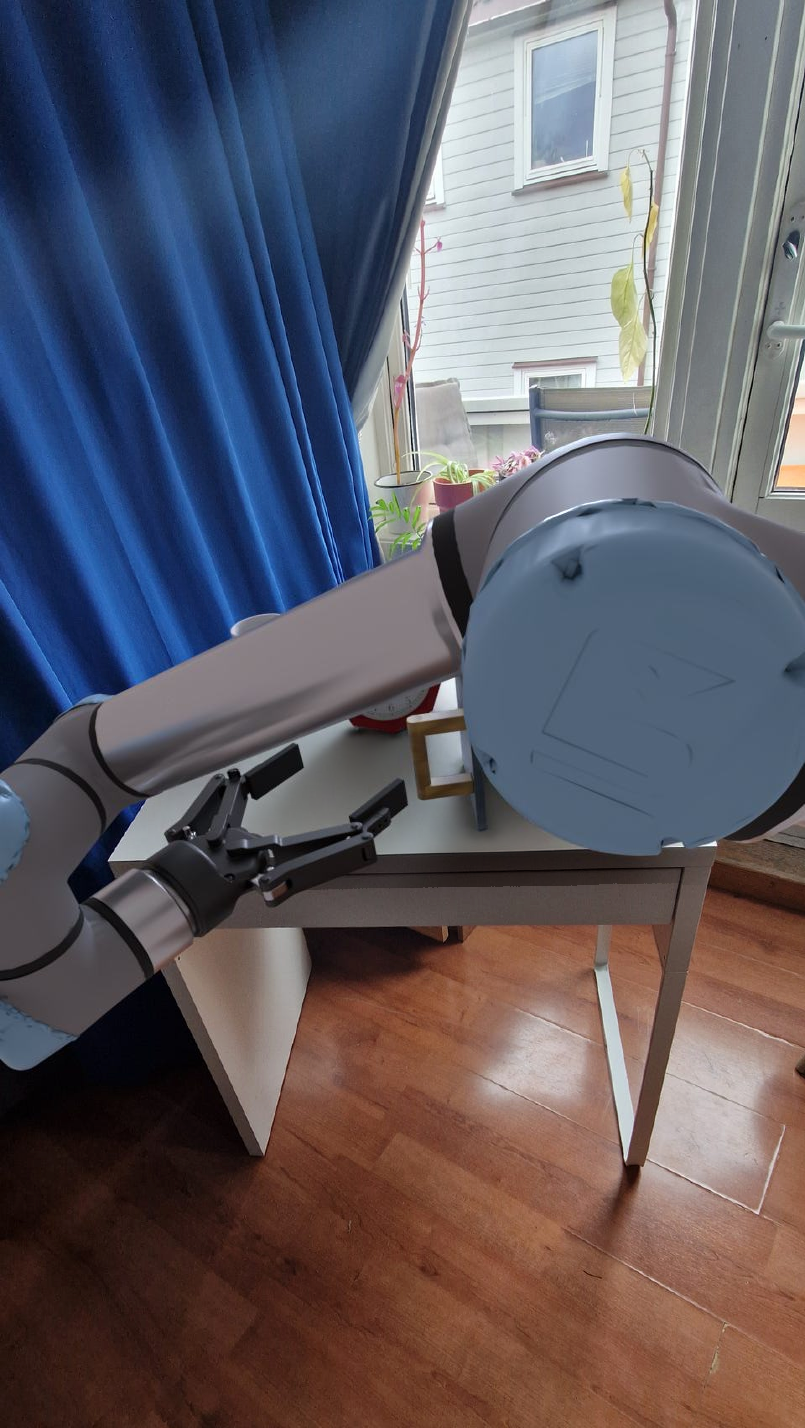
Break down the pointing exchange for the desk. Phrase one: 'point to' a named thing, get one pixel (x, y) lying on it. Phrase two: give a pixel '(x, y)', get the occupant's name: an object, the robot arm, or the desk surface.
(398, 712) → the alarm clock
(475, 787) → the door
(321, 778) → the desk surface
